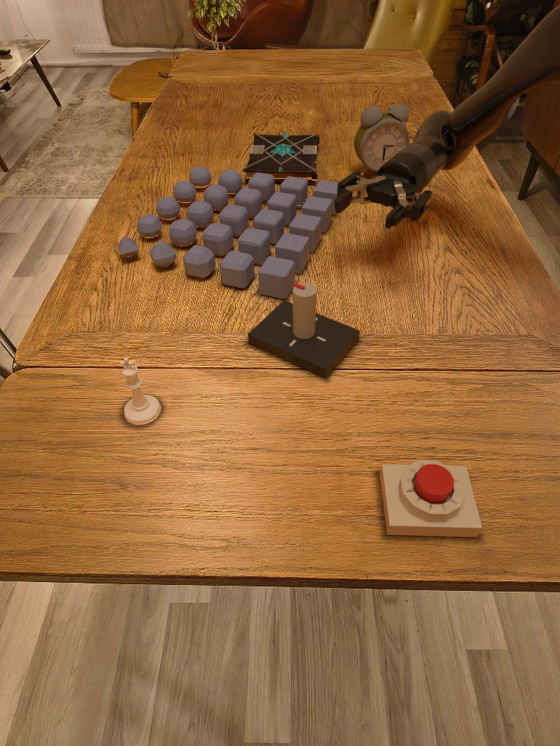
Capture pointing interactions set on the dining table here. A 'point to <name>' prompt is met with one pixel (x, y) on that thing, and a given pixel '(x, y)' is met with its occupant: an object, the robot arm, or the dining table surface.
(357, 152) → the alarm clock
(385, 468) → the box
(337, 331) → the panel
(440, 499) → the button
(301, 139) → the book
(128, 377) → the chess piece
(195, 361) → the dining table surface
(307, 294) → the knob
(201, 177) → the blocks
